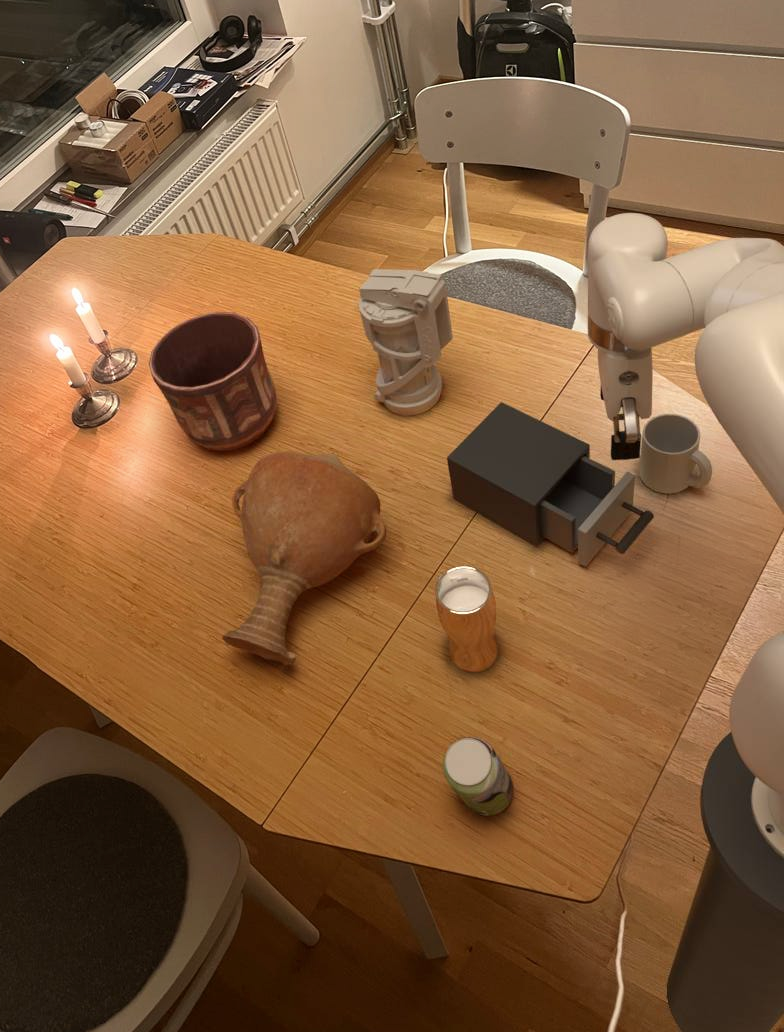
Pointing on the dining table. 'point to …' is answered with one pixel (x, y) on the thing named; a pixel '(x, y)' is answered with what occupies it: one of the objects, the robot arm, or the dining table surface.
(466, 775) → the beverage can
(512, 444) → the cabinet
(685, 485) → the cup
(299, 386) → the dining table surface
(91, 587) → the dining table surface
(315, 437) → the dining table surface
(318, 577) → the jug
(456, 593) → the beer glass
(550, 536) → the drawer
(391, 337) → the lantern
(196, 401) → the pottery
